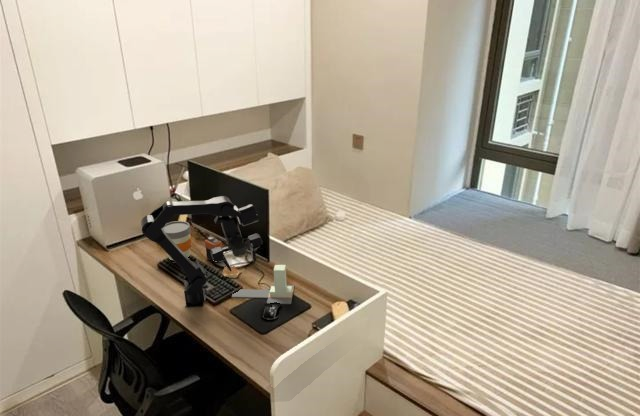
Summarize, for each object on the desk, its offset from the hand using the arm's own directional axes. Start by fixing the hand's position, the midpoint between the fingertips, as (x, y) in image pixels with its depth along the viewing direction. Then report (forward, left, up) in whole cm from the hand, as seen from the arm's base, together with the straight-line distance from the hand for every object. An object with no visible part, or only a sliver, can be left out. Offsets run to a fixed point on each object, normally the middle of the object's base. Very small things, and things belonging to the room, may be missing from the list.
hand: (242, 266), depth 168 cm
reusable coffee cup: (-31, +30, -12) cm, 45 cm away
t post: (+14, -3, -11) cm, 18 cm away
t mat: (+6, -2, -12) cm, 13 cm away
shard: (-8, +15, -12) cm, 21 cm away
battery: (-15, +27, -12) cm, 33 cm away
